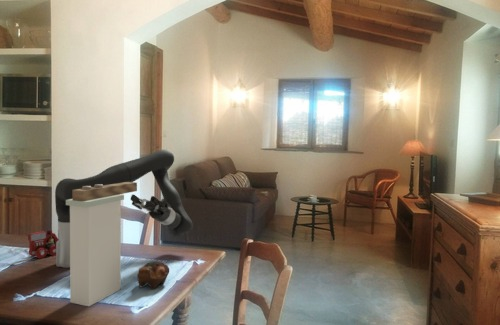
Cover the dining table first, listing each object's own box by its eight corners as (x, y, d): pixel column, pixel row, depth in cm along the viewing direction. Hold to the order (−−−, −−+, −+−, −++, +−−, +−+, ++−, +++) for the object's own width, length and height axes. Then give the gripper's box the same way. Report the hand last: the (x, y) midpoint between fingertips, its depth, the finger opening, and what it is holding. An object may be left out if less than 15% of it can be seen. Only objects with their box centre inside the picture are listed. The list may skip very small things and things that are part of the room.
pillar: (104, 284, 129) (104, 193, 127) (123, 288, 126) (124, 194, 124) (66, 303, 114) (65, 200, 112) (87, 308, 111) (87, 202, 109)
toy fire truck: (63, 253, 162) (63, 229, 162) (33, 260, 152) (33, 235, 151) (54, 250, 166) (54, 226, 166) (24, 257, 156) (24, 232, 155)
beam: (127, 190, 135) (127, 179, 135) (136, 191, 134) (136, 180, 133) (72, 200, 112) (72, 187, 111) (83, 201, 110) (83, 188, 110)
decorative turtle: (128, 291, 123) (128, 266, 123) (152, 278, 138) (152, 256, 138) (155, 294, 121) (155, 268, 121) (176, 280, 135) (176, 257, 135)
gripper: (150, 203, 157) (128, 187, 144) (180, 205, 153) (161, 189, 139) (144, 220, 154) (122, 205, 141) (175, 223, 150) (155, 208, 136)
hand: (141, 197), depth 140 cm, fingers open, 8 cm apart
